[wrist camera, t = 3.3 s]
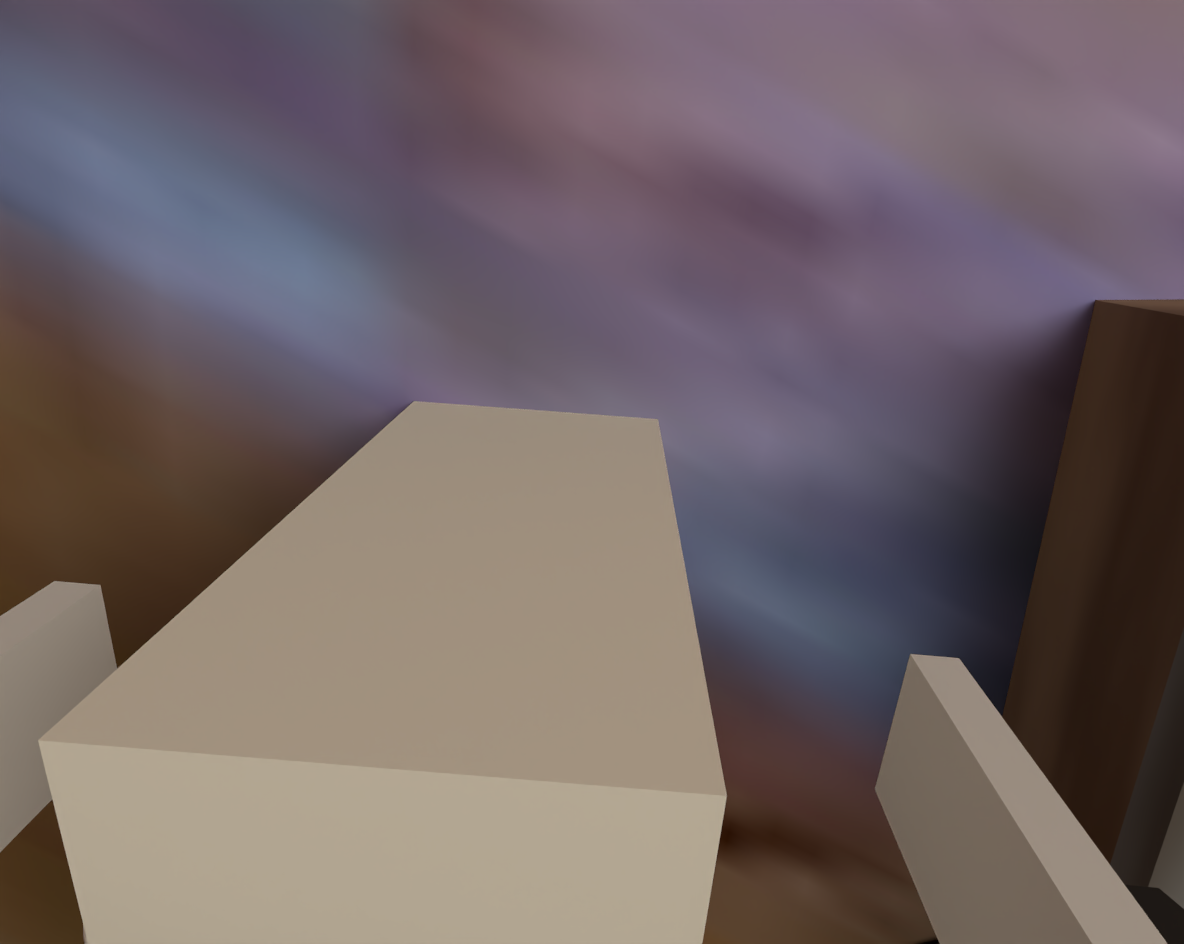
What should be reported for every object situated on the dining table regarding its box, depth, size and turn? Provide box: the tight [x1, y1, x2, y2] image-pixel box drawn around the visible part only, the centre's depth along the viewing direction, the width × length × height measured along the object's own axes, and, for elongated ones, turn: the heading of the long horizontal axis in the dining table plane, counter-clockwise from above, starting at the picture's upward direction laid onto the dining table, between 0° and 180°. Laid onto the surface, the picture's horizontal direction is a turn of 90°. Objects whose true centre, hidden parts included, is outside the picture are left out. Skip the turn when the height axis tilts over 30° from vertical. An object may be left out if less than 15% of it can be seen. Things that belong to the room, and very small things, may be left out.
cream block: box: [38, 401, 727, 944], centre depth 13 cm, size 6×6×12 cm
